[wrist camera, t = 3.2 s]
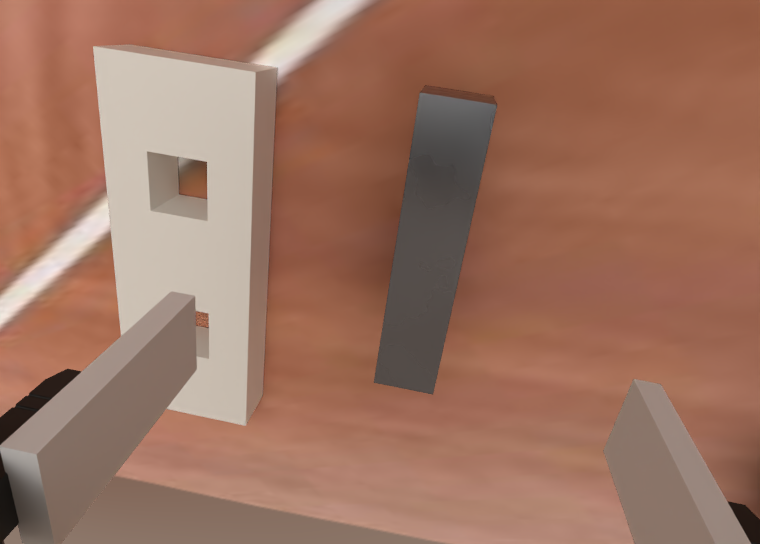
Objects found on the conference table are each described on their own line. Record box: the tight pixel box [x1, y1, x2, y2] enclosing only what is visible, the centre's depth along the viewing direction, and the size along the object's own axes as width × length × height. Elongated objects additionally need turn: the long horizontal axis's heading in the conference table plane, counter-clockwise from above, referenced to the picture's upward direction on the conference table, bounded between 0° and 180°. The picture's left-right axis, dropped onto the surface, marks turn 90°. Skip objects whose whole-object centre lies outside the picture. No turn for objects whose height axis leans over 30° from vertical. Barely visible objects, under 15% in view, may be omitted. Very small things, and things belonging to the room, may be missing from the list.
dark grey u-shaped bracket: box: [374, 85, 497, 394], centre depth 28 cm, size 14×3×10 cm, turn 172°
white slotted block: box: [93, 45, 277, 426], centre depth 34 cm, size 24×9×4 cm, turn 173°
